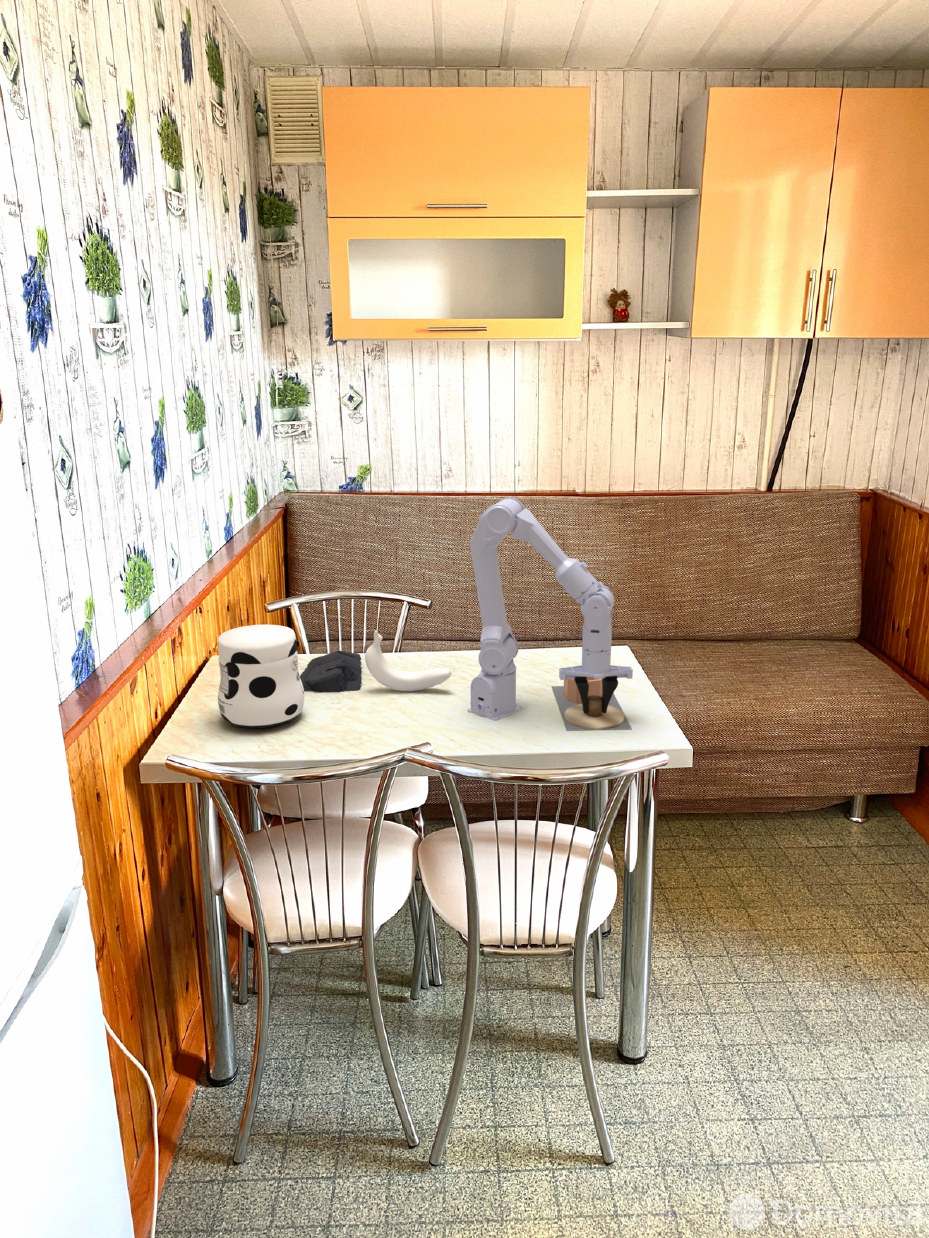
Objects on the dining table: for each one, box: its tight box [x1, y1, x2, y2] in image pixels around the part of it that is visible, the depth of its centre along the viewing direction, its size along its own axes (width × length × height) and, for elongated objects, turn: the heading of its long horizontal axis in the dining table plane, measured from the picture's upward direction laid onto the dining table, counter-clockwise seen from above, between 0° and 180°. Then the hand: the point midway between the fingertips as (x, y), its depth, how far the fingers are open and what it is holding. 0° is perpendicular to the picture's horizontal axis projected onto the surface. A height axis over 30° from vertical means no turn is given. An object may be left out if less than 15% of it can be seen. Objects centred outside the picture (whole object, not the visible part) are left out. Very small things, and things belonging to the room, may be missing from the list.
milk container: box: [217, 624, 305, 729], centre depth 189 cm, size 17×17×18 cm
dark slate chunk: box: [299, 650, 363, 693], centre depth 215 cm, size 15×22×5 cm
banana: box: [364, 630, 452, 692], centre depth 204 cm, size 5×19×15 cm, turn 90°
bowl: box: [563, 678, 602, 703], centre depth 200 cm, size 9×9×5 cm
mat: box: [551, 685, 633, 732], centre depth 195 cm, size 25×13×1 cm, turn 2°
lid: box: [565, 695, 625, 731], centre depth 188 cm, size 12×12×4 cm
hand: (594, 711), depth 189 cm, fingers closed on lid, 3 cm apart
